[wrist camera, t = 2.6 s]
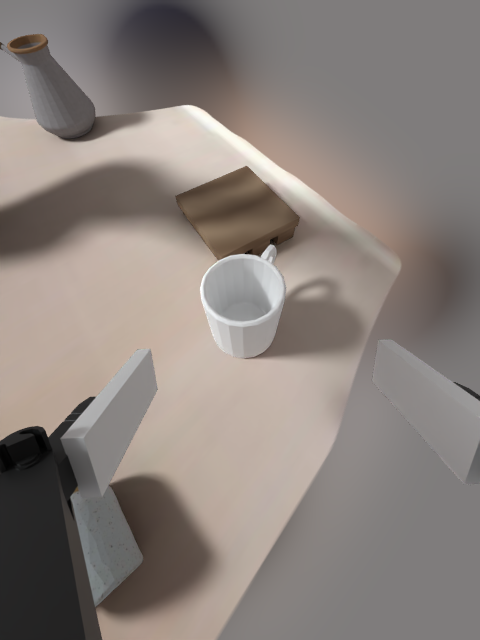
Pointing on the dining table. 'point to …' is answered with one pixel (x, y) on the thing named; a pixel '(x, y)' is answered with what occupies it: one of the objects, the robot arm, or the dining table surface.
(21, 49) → the coffee pot
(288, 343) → the dining table surface
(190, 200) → the dock
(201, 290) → the mug
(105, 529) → the ceramic mug
